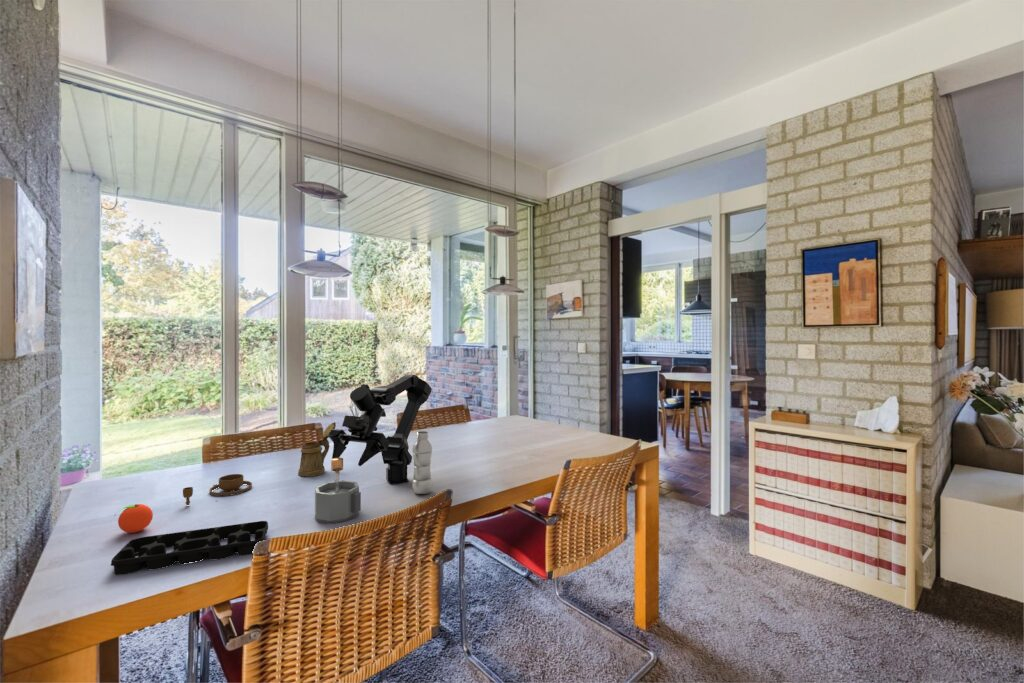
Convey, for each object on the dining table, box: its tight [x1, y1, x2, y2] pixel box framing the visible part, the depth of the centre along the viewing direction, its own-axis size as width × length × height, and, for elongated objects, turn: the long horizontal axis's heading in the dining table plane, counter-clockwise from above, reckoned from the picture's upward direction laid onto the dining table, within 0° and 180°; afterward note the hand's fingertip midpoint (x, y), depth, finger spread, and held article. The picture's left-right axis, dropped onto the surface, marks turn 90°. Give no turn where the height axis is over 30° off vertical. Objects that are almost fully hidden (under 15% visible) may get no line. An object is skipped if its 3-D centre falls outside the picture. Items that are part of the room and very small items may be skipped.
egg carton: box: [110, 520, 269, 576], centre depth 104 cm, size 18×30×4 cm, turn 125°
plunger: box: [323, 457, 351, 494], centre depth 126 cm, size 8×8×10 cm
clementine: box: [114, 503, 154, 534], centre depth 114 cm, size 8×7×7 cm
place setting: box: [182, 473, 253, 506], centre depth 143 cm, size 18×20×6 cm
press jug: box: [314, 479, 362, 524], centre depth 126 cm, size 12×13×8 cm
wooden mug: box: [297, 421, 337, 478], centre depth 166 cm, size 9×14×18 cm, turn 134°
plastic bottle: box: [411, 430, 433, 495], centre depth 144 cm, size 6×7×20 cm
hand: (345, 463), depth 130 cm, fingers open, 9 cm apart
